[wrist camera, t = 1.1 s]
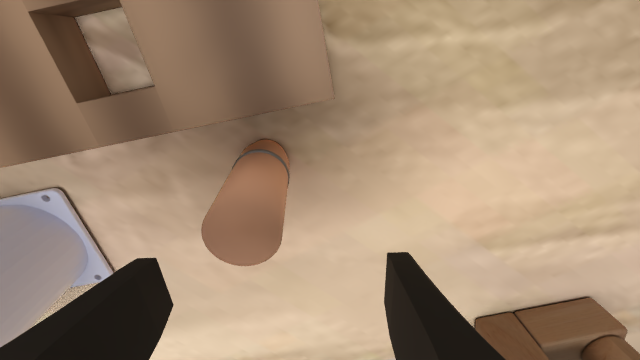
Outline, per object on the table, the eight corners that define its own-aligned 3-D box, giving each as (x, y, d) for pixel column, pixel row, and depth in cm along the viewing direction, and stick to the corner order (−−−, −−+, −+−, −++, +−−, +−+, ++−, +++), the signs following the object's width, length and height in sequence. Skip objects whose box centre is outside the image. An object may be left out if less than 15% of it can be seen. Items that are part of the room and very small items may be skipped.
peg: (250, 184, 21) (216, 273, 13) (235, 139, 20) (187, 207, 11) (296, 175, 21) (291, 258, 13) (284, 129, 19) (271, 191, 11)
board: (26, 154, 19) (-20, 171, 16) (-77, -7, 16) (-159, -17, 13) (330, 90, 19) (334, 98, 16) (298, -92, 15) (297, -123, 12)
